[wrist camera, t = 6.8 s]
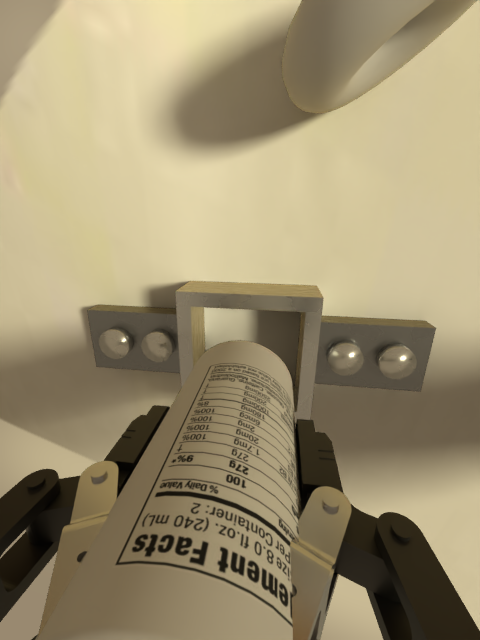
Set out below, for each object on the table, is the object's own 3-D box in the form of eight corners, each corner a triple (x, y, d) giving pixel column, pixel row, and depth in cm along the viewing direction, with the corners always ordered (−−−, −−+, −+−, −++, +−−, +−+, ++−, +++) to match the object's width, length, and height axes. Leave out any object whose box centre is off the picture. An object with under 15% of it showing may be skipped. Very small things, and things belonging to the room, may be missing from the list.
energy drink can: (176, 375, 19) (-127, 838, 5) (241, 313, 17) (50, 782, 3) (244, 435, 20) (152, 977, 6) (313, 382, 18) (437, 1005, 4)
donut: (435, -35, 16) (672, -420, 6) (459, 33, 16) (704, -220, 7) (270, 93, 18) (260, -38, 9) (297, 146, 19) (314, 77, 10)
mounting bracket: (432, 290, 21) (461, 303, 17) (406, 405, 24) (426, 435, 21) (94, 277, 24) (64, 286, 20) (109, 381, 27) (86, 404, 24)
